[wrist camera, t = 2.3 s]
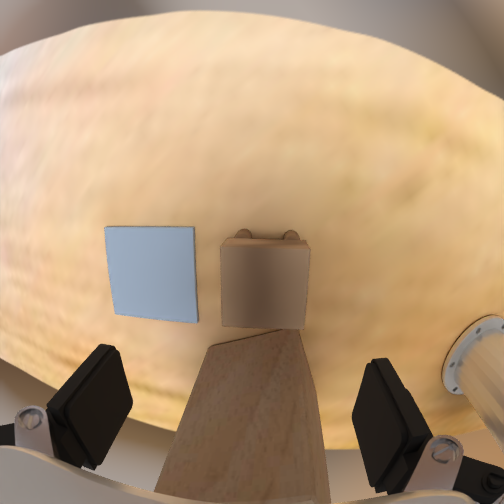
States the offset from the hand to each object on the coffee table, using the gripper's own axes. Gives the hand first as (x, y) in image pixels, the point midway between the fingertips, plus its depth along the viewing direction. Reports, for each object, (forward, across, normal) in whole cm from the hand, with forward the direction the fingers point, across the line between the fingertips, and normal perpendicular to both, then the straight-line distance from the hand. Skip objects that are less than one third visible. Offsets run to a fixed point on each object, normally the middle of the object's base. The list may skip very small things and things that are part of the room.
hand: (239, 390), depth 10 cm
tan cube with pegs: (+19, -1, 0) cm, 19 cm away
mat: (+19, +11, +2) cm, 22 cm away
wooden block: (+19, -1, +14) cm, 23 cm away
